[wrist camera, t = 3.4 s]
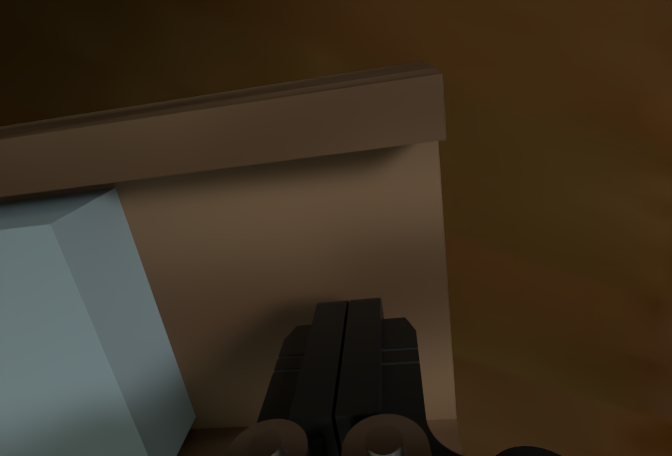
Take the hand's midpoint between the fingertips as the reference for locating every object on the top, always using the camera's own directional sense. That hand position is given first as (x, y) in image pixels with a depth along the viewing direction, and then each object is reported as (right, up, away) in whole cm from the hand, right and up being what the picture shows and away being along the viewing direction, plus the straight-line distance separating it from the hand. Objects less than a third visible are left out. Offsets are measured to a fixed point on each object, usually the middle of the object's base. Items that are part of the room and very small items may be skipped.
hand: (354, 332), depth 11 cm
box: (-7, +1, +5) cm, 9 cm away
